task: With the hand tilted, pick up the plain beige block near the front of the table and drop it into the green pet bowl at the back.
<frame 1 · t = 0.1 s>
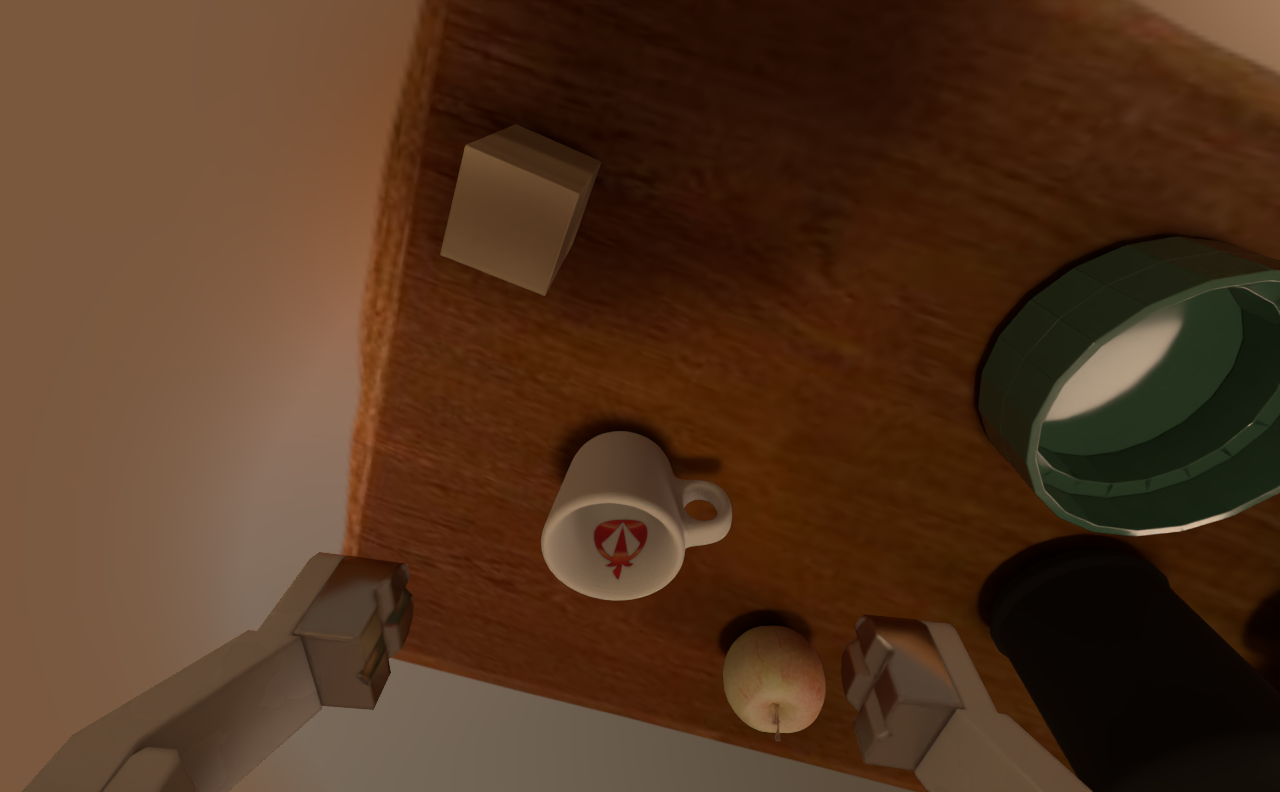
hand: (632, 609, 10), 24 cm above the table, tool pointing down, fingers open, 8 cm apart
cup: (643, 462, 38), on the table
green pet bowl: (1112, 365, 33), on the table
container: (1061, 587, 42), on the table
plain beige block: (545, 186, 29), on the table
fruit: (767, 635, 47), on the table
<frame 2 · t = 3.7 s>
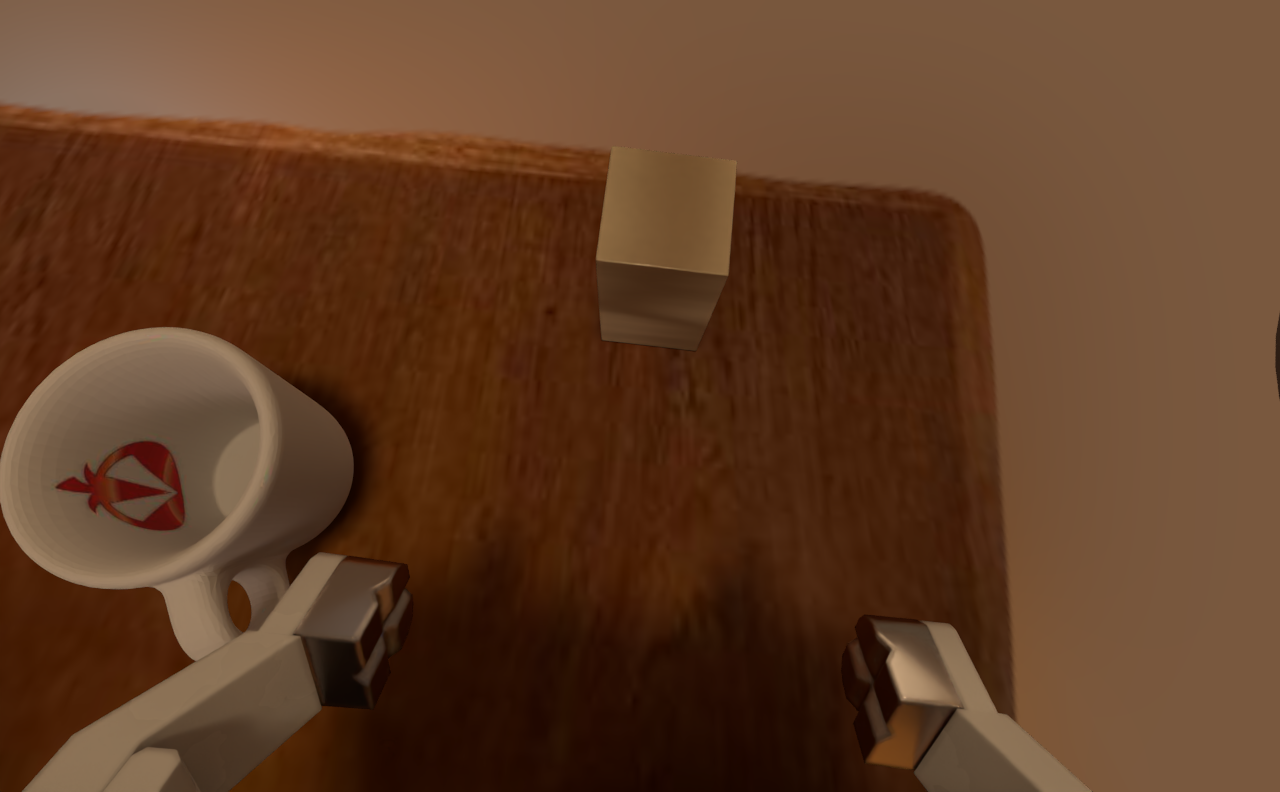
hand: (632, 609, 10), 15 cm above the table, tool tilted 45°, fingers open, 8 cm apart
cup: (295, 508, 25), on the table
plain beige block: (653, 301, 27), on the table
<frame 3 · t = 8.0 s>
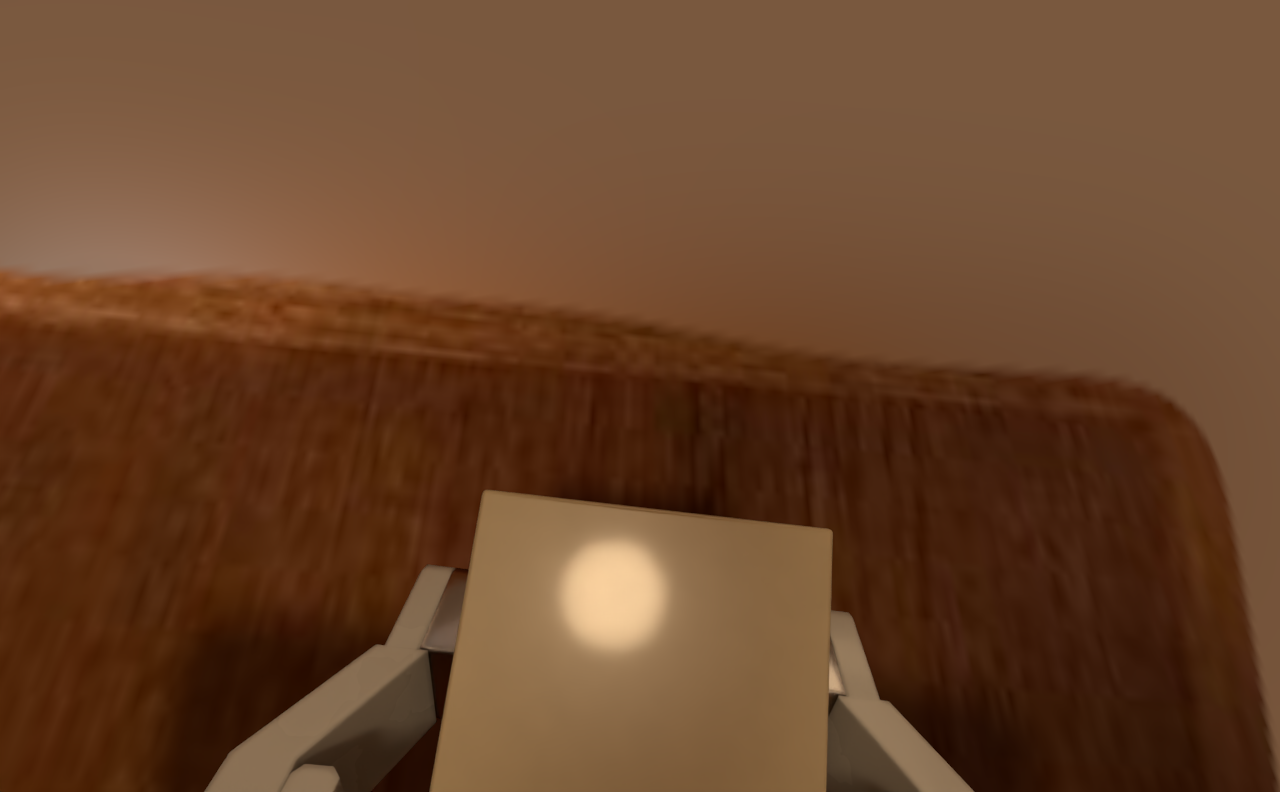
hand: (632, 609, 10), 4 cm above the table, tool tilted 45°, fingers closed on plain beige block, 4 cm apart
plain beige block: (625, 616, 14), on the table, touching gripper
when the fingers open (10 cm above the table, at t = 17.8 s): plain beige block drops 4 cm and tips over, resting on green pet bowl.
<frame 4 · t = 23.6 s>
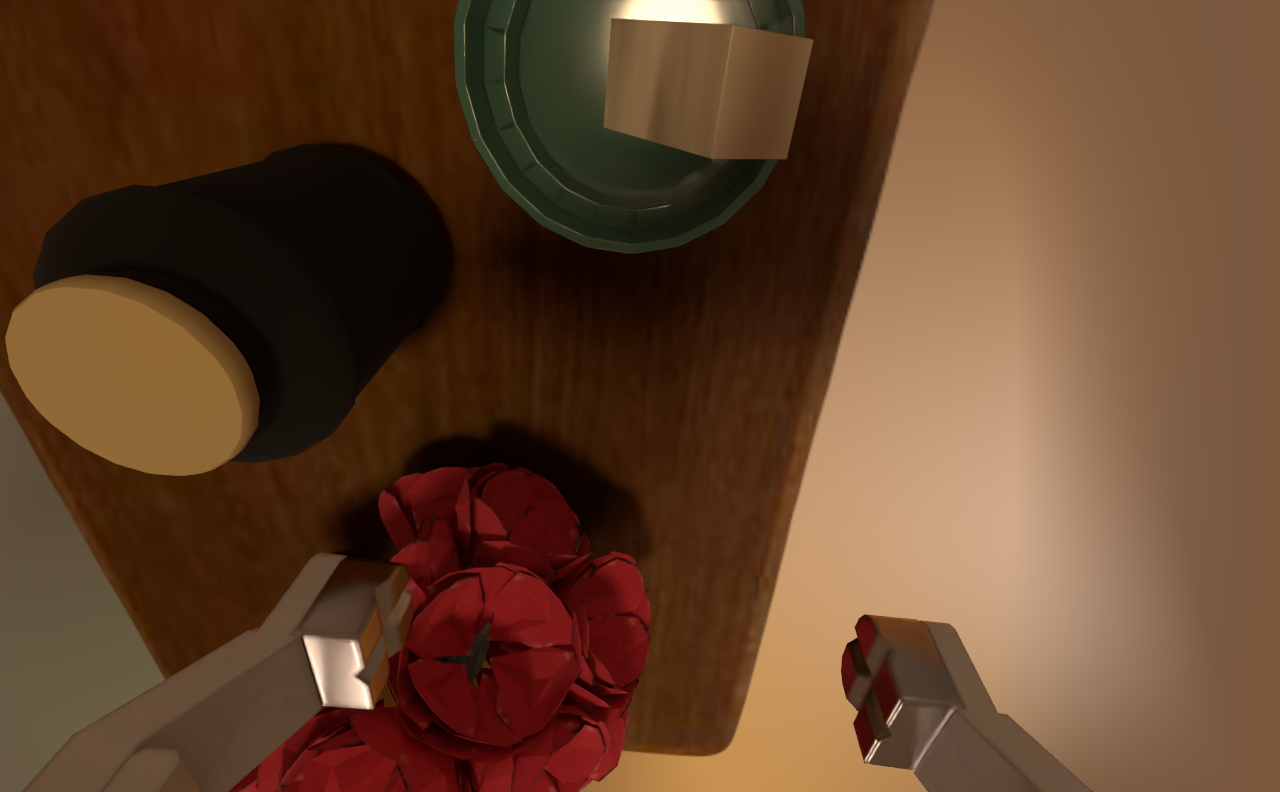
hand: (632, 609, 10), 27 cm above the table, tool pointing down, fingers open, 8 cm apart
green pet bowl: (635, 76, 30), on the table
container: (365, 243, 35), on the table
plain beige block: (645, 78, 28), point 2 cm above the table, tilted 38°, touching green pet bowl
bouquet: (472, 532, 47), on the table
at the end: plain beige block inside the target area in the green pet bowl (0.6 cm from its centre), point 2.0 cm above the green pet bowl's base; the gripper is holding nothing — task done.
